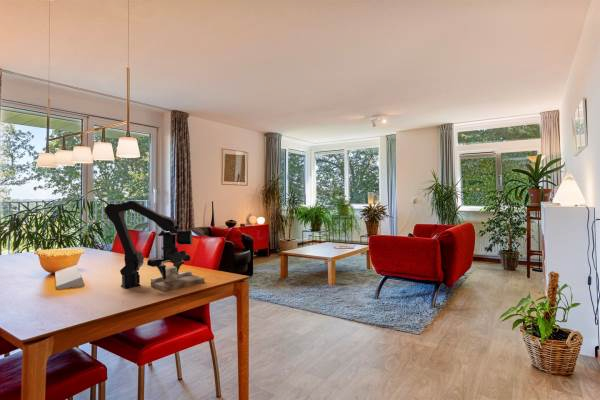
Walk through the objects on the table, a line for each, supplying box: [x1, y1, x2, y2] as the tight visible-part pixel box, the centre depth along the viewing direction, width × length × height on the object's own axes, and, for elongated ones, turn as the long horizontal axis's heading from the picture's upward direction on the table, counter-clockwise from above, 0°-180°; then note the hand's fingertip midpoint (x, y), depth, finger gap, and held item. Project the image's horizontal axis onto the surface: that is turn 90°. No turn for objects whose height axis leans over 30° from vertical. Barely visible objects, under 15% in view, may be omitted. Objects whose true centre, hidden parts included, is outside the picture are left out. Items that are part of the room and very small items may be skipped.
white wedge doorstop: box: [54, 264, 85, 290], centre depth 167 cm, size 34×5×10 cm
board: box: [150, 270, 205, 293], centre depth 158 cm, size 20×13×4 cm, turn 139°
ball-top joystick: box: [163, 266, 180, 282], centre depth 155 cm, size 5×9×6 cm, turn 48°
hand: (169, 278), depth 157 cm, fingers closed on ball-top joystick, 5 cm apart
